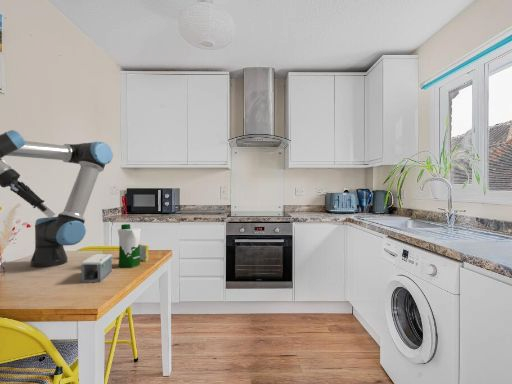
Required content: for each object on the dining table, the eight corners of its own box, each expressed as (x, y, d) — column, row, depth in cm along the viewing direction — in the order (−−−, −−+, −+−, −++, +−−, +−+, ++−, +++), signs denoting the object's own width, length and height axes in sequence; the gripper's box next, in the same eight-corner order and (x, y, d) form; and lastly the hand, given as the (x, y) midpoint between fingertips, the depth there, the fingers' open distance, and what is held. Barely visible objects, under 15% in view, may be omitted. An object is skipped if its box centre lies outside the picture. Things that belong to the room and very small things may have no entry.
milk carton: (126, 263, 153) (127, 223, 153) (143, 264, 151) (143, 224, 151) (115, 267, 144) (115, 225, 144) (132, 268, 142) (132, 226, 142)
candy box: (148, 261, 158) (149, 245, 158) (145, 262, 156) (145, 245, 156) (129, 257, 167) (129, 242, 167) (126, 258, 165) (126, 242, 165)
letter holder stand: (94, 272, 135) (95, 256, 135) (112, 271, 137) (112, 256, 137) (81, 282, 119) (81, 265, 119) (101, 281, 121) (101, 264, 121)
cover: (95, 255, 135) (95, 252, 135) (112, 256, 136) (112, 253, 137) (81, 264, 119) (81, 260, 119) (100, 264, 121) (100, 260, 121)
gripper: (2, 181, 124) (49, 221, 130) (-13, 180, 112) (40, 224, 117) (17, 169, 126) (64, 208, 132) (4, 166, 113) (56, 210, 119)
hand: (52, 215), depth 124 cm, fingers closed
